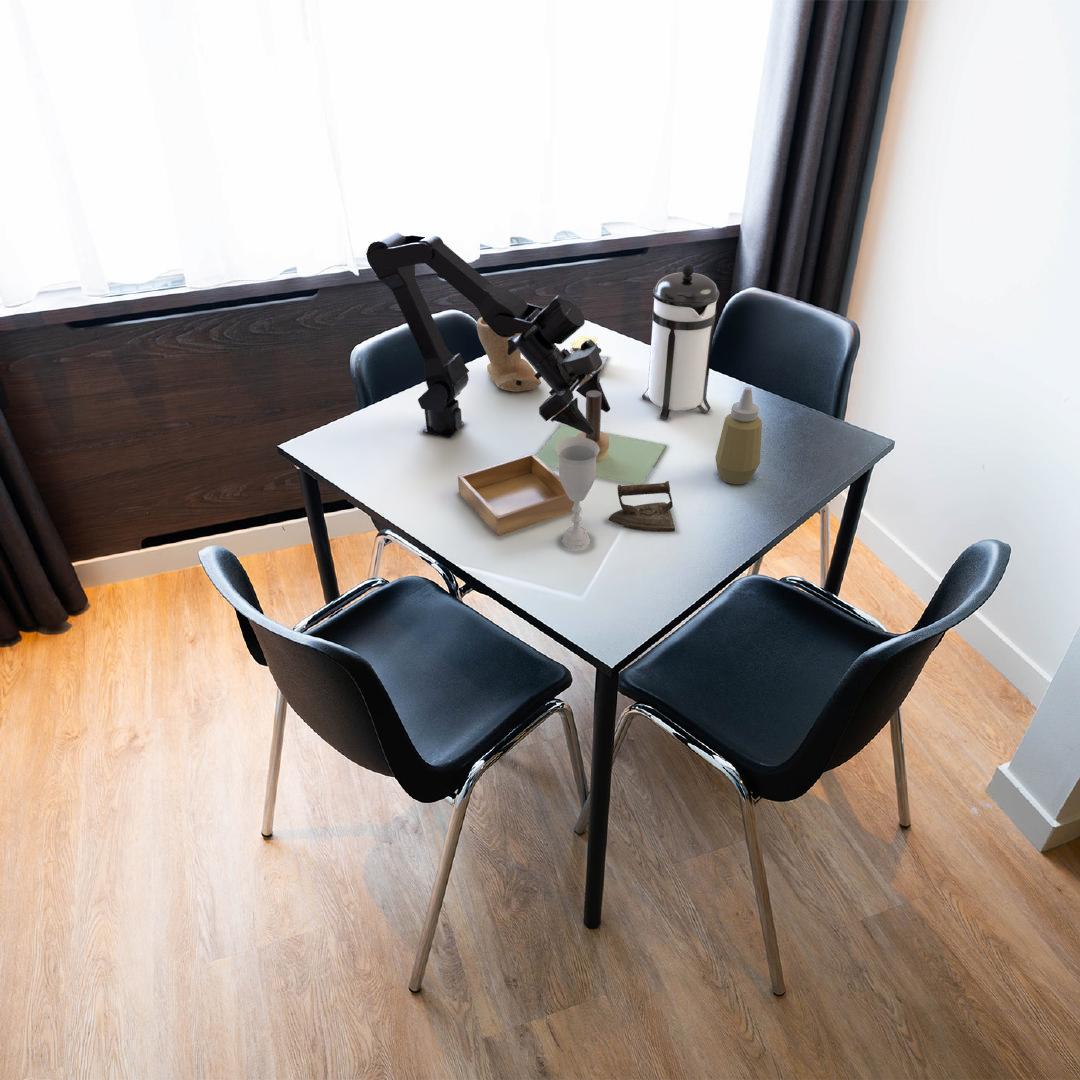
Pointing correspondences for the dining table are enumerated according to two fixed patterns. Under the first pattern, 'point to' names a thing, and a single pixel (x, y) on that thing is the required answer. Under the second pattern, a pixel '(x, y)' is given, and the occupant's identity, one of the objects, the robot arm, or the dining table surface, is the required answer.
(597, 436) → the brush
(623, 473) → the mat
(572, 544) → the chalice
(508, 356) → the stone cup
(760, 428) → the squeeze bottle
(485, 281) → the robot arm
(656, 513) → the clothes iron
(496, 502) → the tray
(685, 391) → the coffee press
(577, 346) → the stacked layers on plate
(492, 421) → the dining table surface
